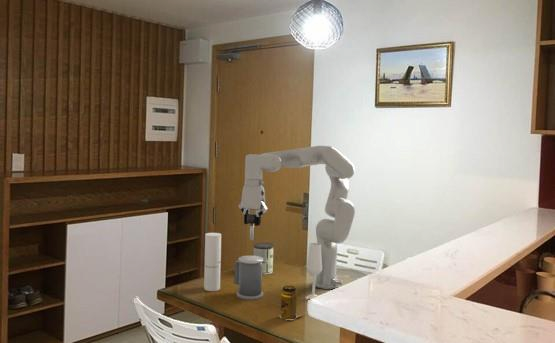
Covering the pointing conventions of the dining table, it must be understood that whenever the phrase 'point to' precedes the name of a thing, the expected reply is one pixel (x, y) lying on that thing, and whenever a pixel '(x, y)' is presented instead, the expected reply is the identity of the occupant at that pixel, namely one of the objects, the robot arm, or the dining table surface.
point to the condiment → (288, 302)
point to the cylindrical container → (212, 261)
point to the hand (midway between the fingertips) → (252, 224)
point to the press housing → (249, 277)
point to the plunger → (251, 224)
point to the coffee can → (265, 256)
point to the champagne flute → (314, 264)
